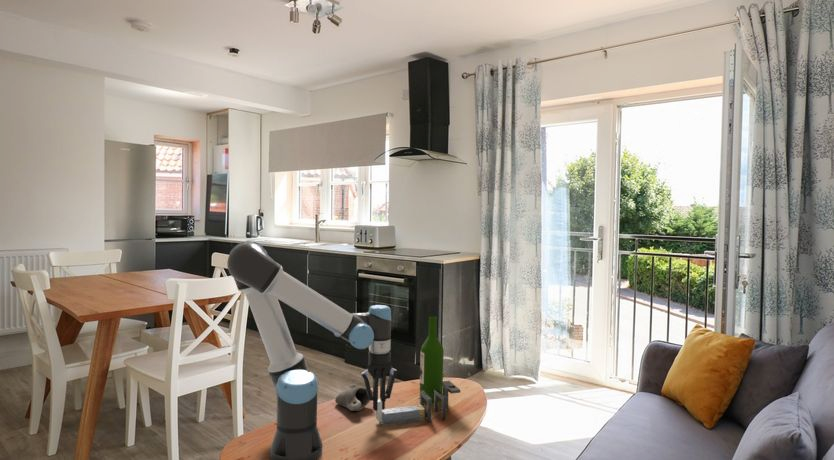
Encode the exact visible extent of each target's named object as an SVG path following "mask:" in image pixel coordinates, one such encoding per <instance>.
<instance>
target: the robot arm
mask: <svg viewBox="0 0 834 460" xmlns="http://www.w3.org/2000/svg"><path fill="white" fill-rule="evenodd" d="M226 264H227V270H228V273H229V274H230V275H231V277H233V279H234V282H235V285H236V288H237V290H238V292H241V293H243V294H245V297H246V300H247V302H248V305H249V307H250V310H251V313H252V315H253V319H254V321H255V324H256V326H257V330H258V332H259V335H260V338H261V339H262V343H263V346H264V348H265V352H266V354H267V356H268V358H269V359H268V360H269V361H270V364H269V366H268V367H267V371H268V374H269V376H270V380H271V382H272V385H273V388H274V392H275V399H276V430H275V434H274V436H273V439H272V442H271V444H270V448H269V457H270V458H269V459H270V460H271V459H272V460H319V458H320V457H321V456H322V455H323V442H322V439H321V436H320V432H319V429H318V423H317V422H318V390H319V384H318V377H317V375H315V374H314V373H313V371H310V369H309V368H308V365H307V363H306V360H305V357H304V354H303V353H300V352H298V351H297V349H296V347H295V343H294V341H293V338H292V336H291V332H290V329H289V327H288V324H287V321H286V318H285V315H284V313H283V309H282V308H281V305H280V302H279V301H281V302H283V304H286V305H288V306H289V307H291V308H292V309H294V310H295V311H298V312H299V313H301V314H303V315H304V316H306V317H307V318H309V319H310V320H312V321H313V322H316V323H317V324H318V325H320V326H322V327H324V328H325V329H326V330H328V331H330V332H332V333H333V334H334V337H336V338H342V339H343V340H345V341H347V342H348V343H350V345H351V346H353V347H354V348H356V349H357V350H365V349H367V348H368V350H369V351H368V363H367V366H366V369H365V370H364V371H361V372H360V375H361V377H362V379H363V382H364V387H365V388H366V392H367V396H368V398H369V400H370V402H371V401H372V408H373V410H374V412H375V419H376V421H377V422H379V421H382V410H384V409H386V407H385V406H386V401H387V399H390V398H391V396H392V392H393V389H394V388H393V387H394V384H395V378H396V376H397V375H398V373H399V371H398V370H397V369H396V368H393V366H392V364H391V356H392V355H391V353H392V352H391V349H392V348H391V347H392V346H391V344H392V343H391V341H392V338H391V336H392V335H391V334H392V333H391V331H392V309H391V307H390V306H388V305H384V304H383V305H382V304H375V305H371V306H370V307H369V309H368V311H366V312H352V313H351V312H349V311H347V310H346V309H344V308H342V307H341V306H339V305H338V304H336V303H334V302H333V301H332V300H329V298H327V297H325V296H324V295H322V294H320V293H318V292H317V291H316V290H314V289H312V288H311V287H309V286H308V285H306V284H305V283H303V282H301V281H300V280H299V279H297V278H295V277H293V276H292V275H290V274H289V273H287V272H285V271H284V268H283V266H282V265H281V264H280V263H278V262H276V261H275V260H274V259H273V258H272V257H271V256H269V254H268V252H267V250H266V249H265V247H264V246H263V245H262V244H260V243H258V242H257V241H252V240H250V241H243V242H240V243H238V244H236V245H234V246H233V248H232V249H231V250H230V252H229V254H228V258H227V262H226ZM388 375H389V376H388ZM369 376H371V377H372V389H371V384H370V381H369ZM387 376H388V380H387ZM379 382H380V383H379ZM386 382H387V385H386ZM371 390H372V391H373V396H372V392H371Z"/></svg>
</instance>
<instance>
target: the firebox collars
mask: <svg viewBox="0 0 834 460" xmlns="http://www.w3.org/2000/svg"><path fill="white" fill-rule="evenodd" d="M441 385H442V386H443V394H442V393H441V392H440V391H439V390H438V389H434V404H432V399H431V398H430V397H429V396H428V395H427V394H426V393H425V392H424V391H420V390H419V405H423V406H425V403H424V399H425V400H426V401H427V404H426V407H427V418H426V422H427V423H428V424H429V423H432V405H433V412H434V413H439V403H438V397H439V398H441V399H442V401H441V414H440V415H441V416H440V417H441V418H440V419H441V421H446V420H447V410H448V409H449V393H450V394H451V395H452V394H458V393H459V394H461V389H460V388H459V387H457V386H456V385H455V383H453V382H451V380H443V381H442V382H441Z"/></svg>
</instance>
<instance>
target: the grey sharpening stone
mask: <svg viewBox="0 0 834 460" xmlns="http://www.w3.org/2000/svg"><path fill="white" fill-rule="evenodd" d="M424 421H427V406H425V405H424V406H423V405H420V404H416V405H410V406H409V405H408V406H407V405H406V406H401V407H400V406H399V407H392V408H385V409H384V410H382V421H378V422H379V423H380V425H381V426H383V427H384V426H391V425H399V424H408V423H415V422H424Z"/></svg>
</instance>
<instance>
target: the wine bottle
mask: <svg viewBox="0 0 834 460" xmlns="http://www.w3.org/2000/svg"><path fill="white" fill-rule="evenodd" d="M437 319H438V318H437V316H433V315H432V316H431V315H430V316H428V335H427V338H426V339H425V340H424V342H423V344H422V345H421V347H420V355H419V356H420V357H419V358H420V359H419V362H420V364H419V365H420V366H419V392H420V391H424V392H425V393H426V394H427V395H428V396H429V397H430V398H431V399H432V405H434V389H438V390H439V391H440V392H441V393H442V394H443V386H442V385H441V382H442V381H444V347H443V345H442V344H441V341H440V340H439V338H438V337H437V328H438V327H437ZM426 403H427V401H426V400H425V399H424V404H426ZM440 403H442V399H441V398H439V397H438V404H440Z"/></svg>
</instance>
